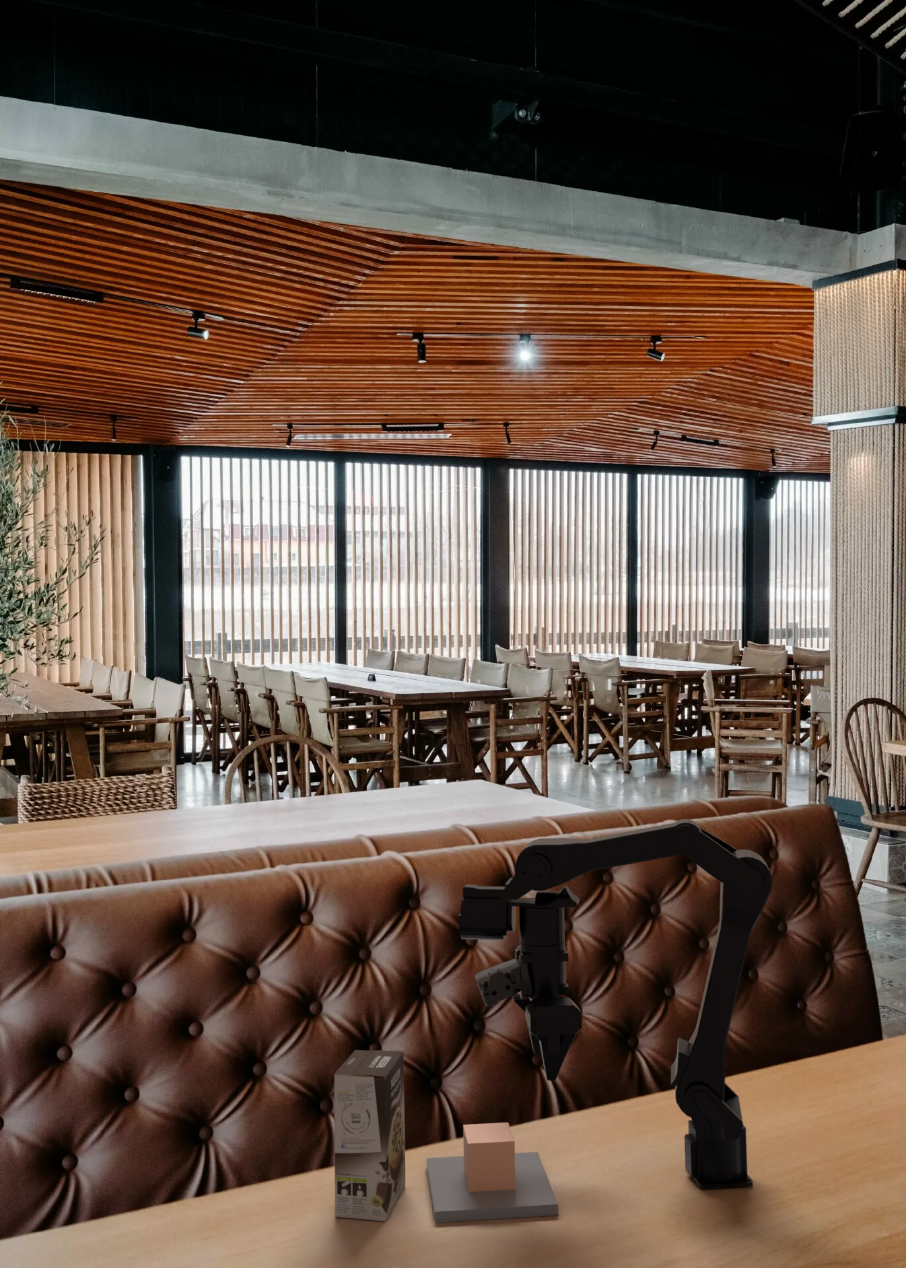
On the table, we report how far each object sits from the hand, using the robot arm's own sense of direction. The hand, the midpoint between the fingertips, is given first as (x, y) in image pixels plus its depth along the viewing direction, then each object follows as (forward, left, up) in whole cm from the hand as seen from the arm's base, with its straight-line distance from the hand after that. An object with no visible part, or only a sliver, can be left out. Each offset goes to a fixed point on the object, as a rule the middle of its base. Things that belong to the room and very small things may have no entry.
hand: (544, 1067), depth 137 cm
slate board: (+8, +6, -12) cm, 16 cm away
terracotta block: (+8, +6, -11) cm, 15 cm away
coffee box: (+22, +7, -12) cm, 26 cm away
